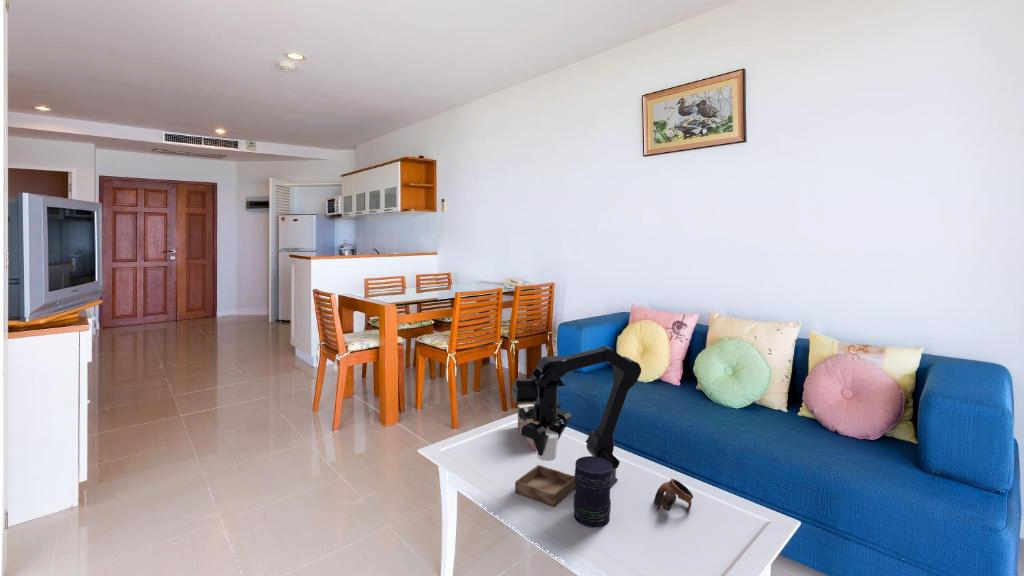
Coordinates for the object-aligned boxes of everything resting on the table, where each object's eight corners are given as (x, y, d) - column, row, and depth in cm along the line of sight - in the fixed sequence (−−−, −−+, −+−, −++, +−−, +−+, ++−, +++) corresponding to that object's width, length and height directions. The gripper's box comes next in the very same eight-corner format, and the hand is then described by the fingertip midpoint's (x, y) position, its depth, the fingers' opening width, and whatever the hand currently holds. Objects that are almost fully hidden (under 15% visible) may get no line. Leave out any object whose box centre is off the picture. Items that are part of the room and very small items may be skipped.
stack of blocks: (517, 427, 194) (517, 397, 193) (532, 426, 196) (533, 396, 195) (533, 450, 174) (534, 417, 173) (550, 449, 176) (551, 415, 174)
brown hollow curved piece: (655, 495, 146) (671, 473, 145) (683, 519, 142) (699, 496, 141) (644, 503, 136) (661, 479, 135) (674, 529, 131) (692, 505, 130)
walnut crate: (576, 487, 149) (576, 476, 148) (554, 507, 138) (555, 495, 137) (538, 475, 156) (538, 464, 156) (515, 492, 145) (515, 481, 145)
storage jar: (617, 517, 134) (619, 464, 132) (597, 532, 126) (599, 477, 125) (586, 503, 140) (588, 452, 139) (565, 517, 133) (567, 464, 131)
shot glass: (554, 463, 143) (554, 440, 142) (531, 459, 145) (532, 436, 144) (560, 453, 149) (561, 431, 148) (538, 450, 151) (539, 427, 151)
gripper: (542, 387, 157) (541, 434, 159) (506, 402, 143) (505, 454, 144) (573, 395, 151) (571, 444, 152) (538, 411, 136) (537, 466, 138)
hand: (546, 451), depth 147 cm, fingers closed on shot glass, 6 cm apart
